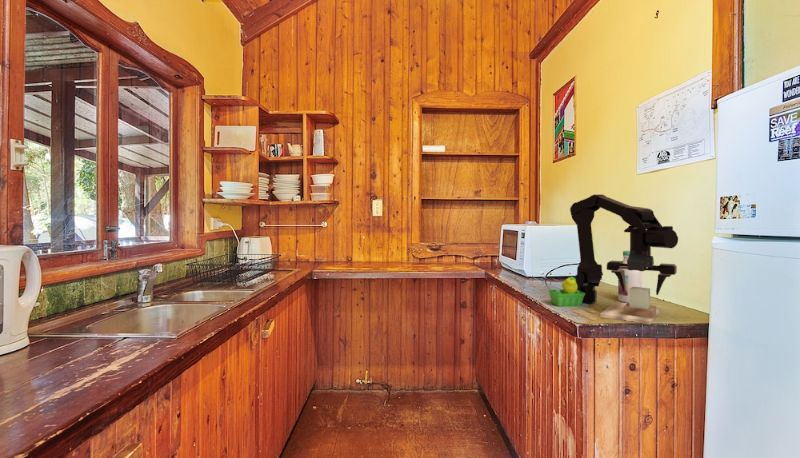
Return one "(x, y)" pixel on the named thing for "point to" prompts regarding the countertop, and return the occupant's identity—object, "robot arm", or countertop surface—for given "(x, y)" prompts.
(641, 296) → the top block
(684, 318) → the countertop surface
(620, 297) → the milk bottle
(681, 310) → the countertop surface
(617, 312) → the board
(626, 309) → the base block
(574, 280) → the fruit basket
